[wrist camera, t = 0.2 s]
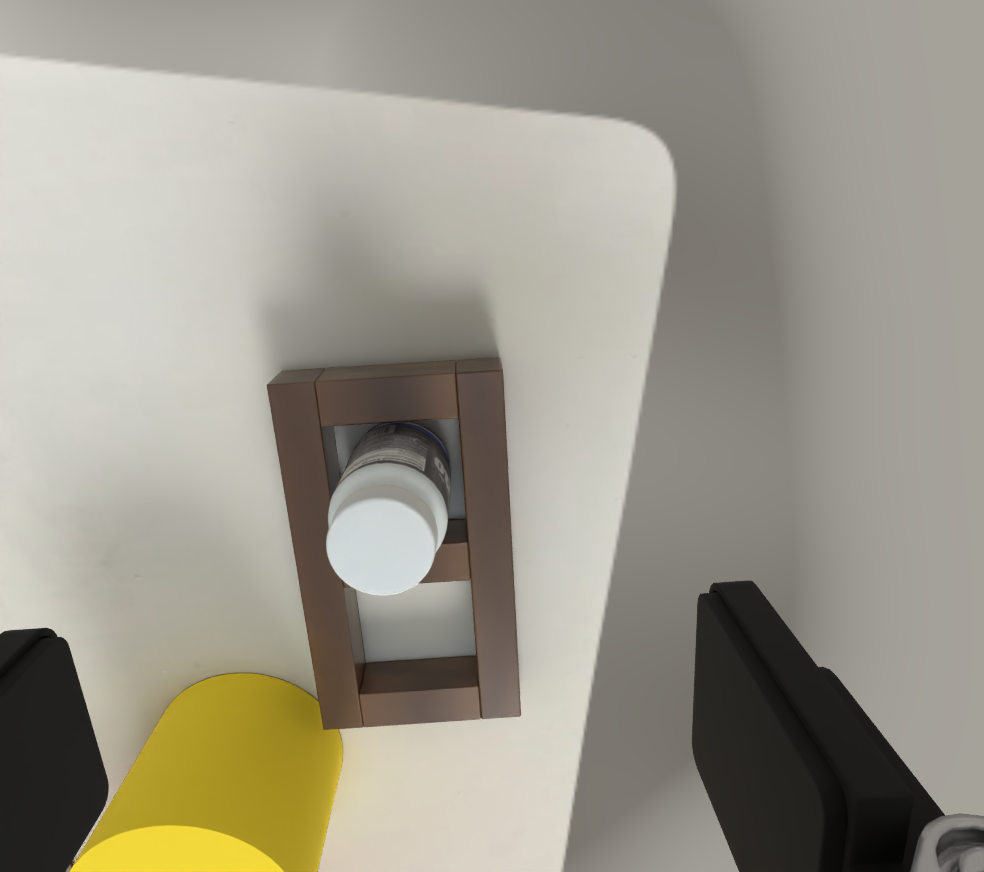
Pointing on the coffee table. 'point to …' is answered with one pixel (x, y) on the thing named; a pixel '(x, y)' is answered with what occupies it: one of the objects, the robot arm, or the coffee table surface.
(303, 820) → the yellow toilet paper roll
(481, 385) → the holder
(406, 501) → the pill bottle
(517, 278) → the coffee table surface
